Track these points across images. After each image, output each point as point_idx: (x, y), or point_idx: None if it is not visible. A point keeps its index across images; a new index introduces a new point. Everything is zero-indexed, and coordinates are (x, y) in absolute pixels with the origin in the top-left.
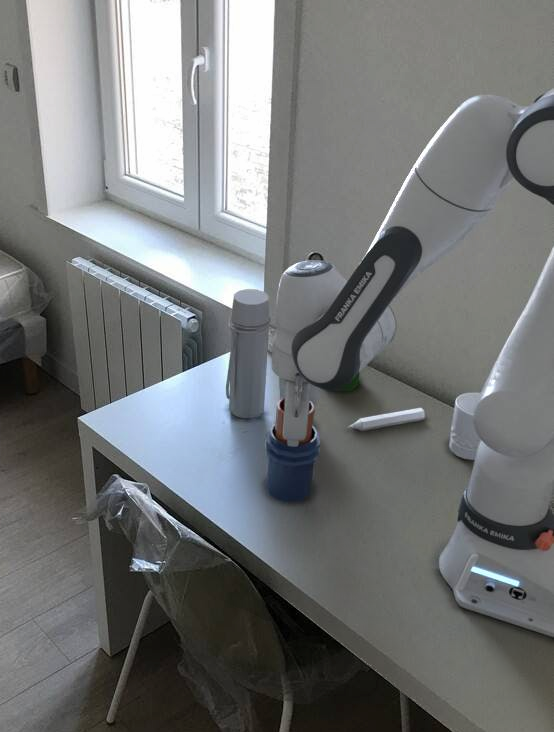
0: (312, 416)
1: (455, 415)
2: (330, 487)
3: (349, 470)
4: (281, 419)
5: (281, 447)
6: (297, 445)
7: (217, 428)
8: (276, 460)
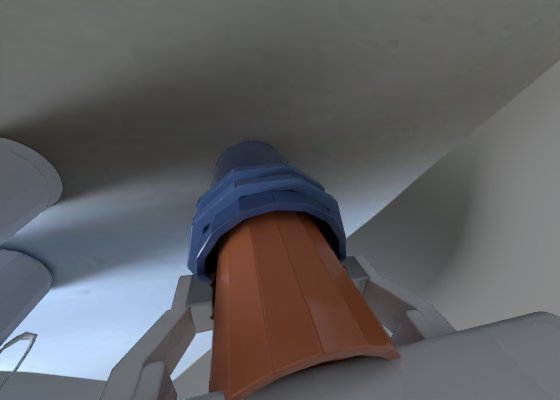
0: (349, 305)
1: None
2: (238, 100)
3: (158, 42)
4: None
5: None
6: (361, 256)
7: (109, 294)
8: None
